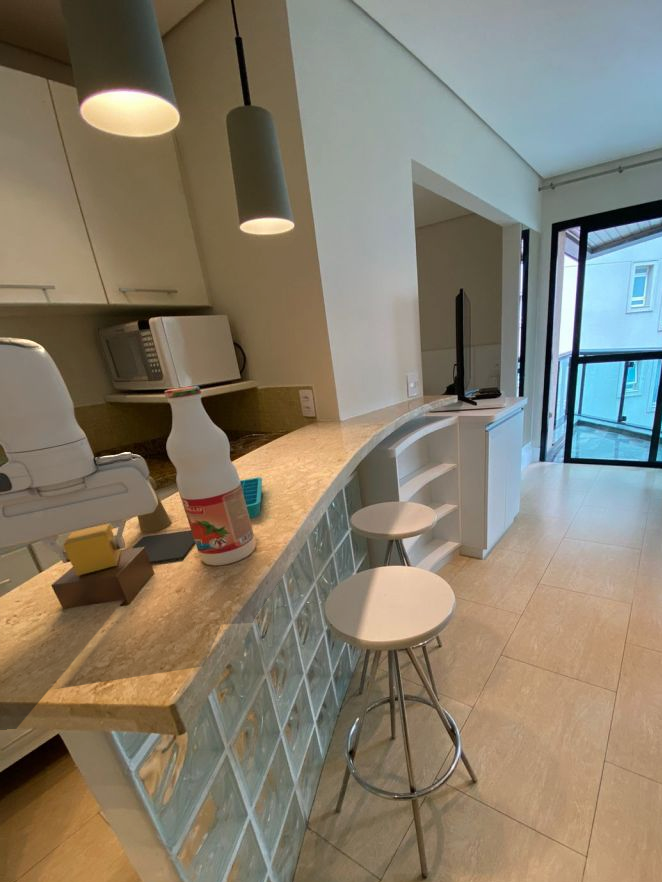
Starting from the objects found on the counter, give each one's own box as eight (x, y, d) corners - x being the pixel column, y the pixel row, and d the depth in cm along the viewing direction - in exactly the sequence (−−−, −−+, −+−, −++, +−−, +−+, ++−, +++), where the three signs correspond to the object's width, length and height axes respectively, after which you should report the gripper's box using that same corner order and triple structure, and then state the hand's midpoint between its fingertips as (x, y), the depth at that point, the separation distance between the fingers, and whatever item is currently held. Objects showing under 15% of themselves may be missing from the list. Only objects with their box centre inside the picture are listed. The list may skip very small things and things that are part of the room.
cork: (159, 532, 84) (141, 481, 79) (134, 533, 85) (114, 483, 81) (177, 519, 89) (161, 472, 85) (153, 520, 90) (136, 473, 86)
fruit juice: (266, 550, 71) (224, 383, 60) (212, 573, 65) (156, 394, 54) (243, 535, 78) (202, 383, 67) (193, 555, 72) (139, 392, 61)
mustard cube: (77, 576, 58) (62, 545, 56) (83, 561, 63) (70, 532, 61) (116, 565, 60) (104, 535, 58) (120, 552, 64) (109, 523, 62)
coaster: (113, 569, 70) (112, 567, 70) (143, 538, 82) (143, 536, 81) (183, 559, 71) (182, 557, 71) (204, 530, 82) (203, 528, 82)
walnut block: (65, 614, 59) (50, 585, 57) (99, 580, 67) (87, 554, 65) (128, 605, 59) (116, 576, 57) (154, 573, 68) (144, 546, 66)
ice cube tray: (264, 487, 104) (261, 476, 102) (263, 517, 85) (260, 503, 84) (216, 496, 101) (213, 485, 100) (205, 528, 83) (201, 514, 82)
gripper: (143, 445, 62) (171, 527, 67) (-28, 476, 54) (19, 565, 60) (140, 453, 56) (171, 542, 62) (-50, 488, 49) (4, 585, 54)
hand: (95, 554), depth 61 cm, fingers closed on mustard cube, 5 cm apart
